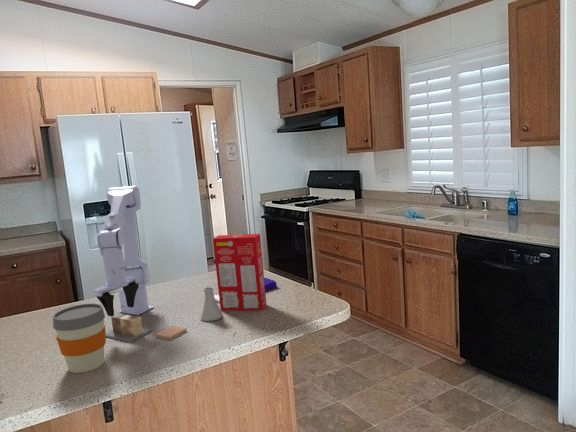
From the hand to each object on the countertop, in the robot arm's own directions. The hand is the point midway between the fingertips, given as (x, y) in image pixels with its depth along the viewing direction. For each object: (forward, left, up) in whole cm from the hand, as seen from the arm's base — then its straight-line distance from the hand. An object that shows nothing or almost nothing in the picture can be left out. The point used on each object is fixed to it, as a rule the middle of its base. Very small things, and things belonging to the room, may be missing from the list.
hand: (121, 311), depth 144 cm
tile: (+12, +5, -7) cm, 15 cm away
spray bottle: (+14, +44, -8) cm, 47 cm away
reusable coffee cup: (+8, -19, -7) cm, 22 cm away
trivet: (+2, 0, -7) cm, 7 cm away
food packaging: (+24, +31, -8) cm, 40 cm away
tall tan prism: (+2, 0, -7) cm, 7 cm away
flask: (+19, +20, -8) cm, 28 cm away
